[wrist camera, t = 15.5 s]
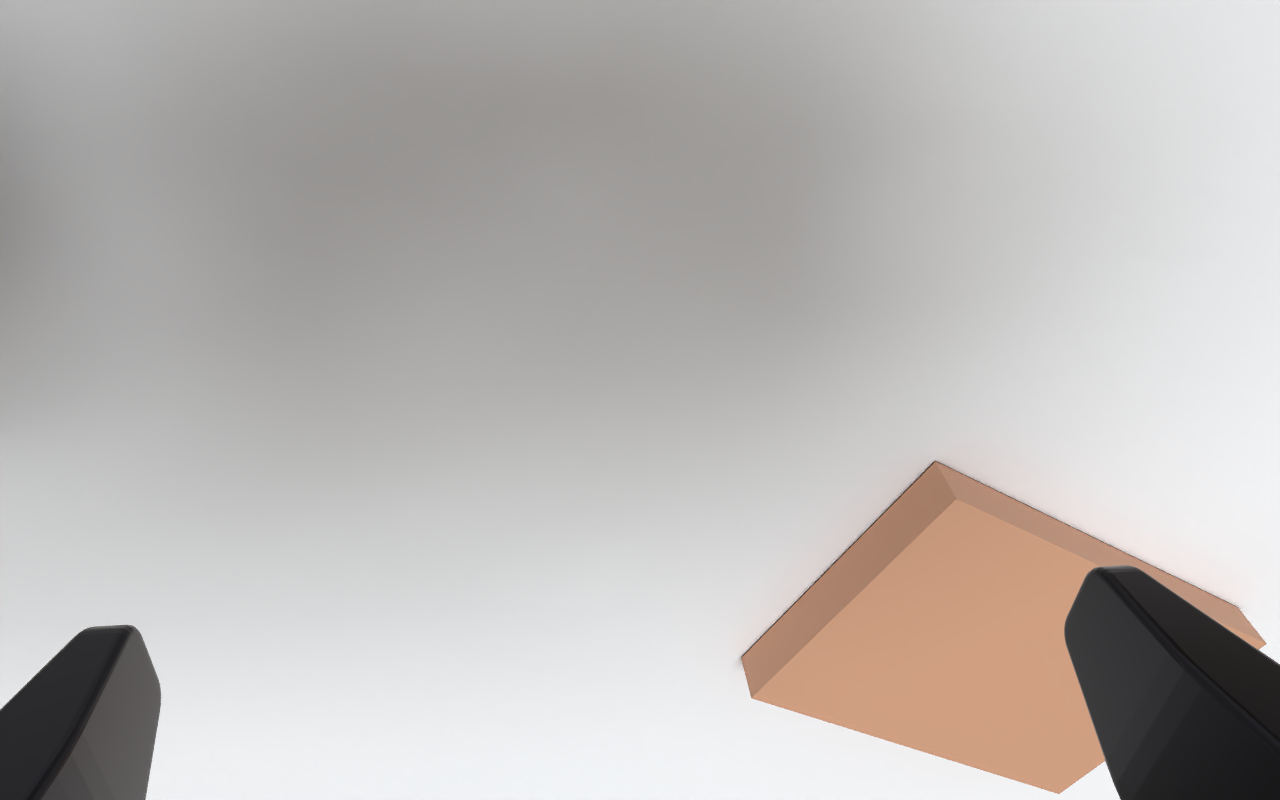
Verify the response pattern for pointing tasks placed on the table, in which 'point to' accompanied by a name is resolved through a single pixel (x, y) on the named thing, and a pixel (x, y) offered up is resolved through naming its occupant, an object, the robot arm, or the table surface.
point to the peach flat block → (955, 634)
